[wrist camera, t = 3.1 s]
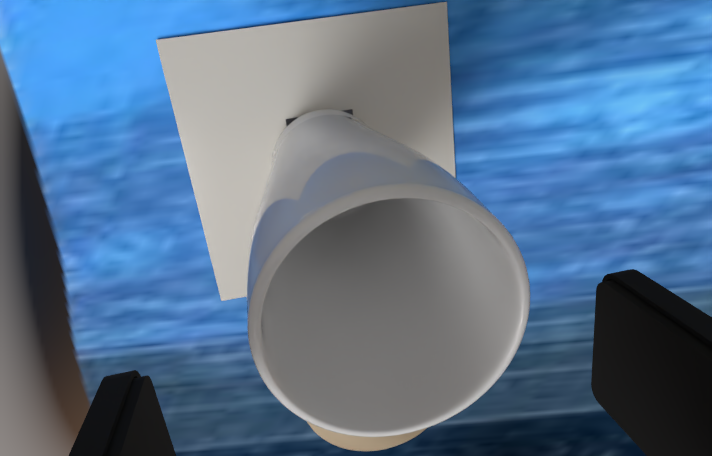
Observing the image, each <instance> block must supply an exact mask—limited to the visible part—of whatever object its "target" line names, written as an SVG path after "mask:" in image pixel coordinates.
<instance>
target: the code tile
mask: <svg viewBox="0 0 712 456" xmlns="http://www.w3.org/2000/svg"><path fill="white" fill-rule="evenodd" d="M156 43H157V47H158V51H159V55H160V59H161V63H162V67H163V71H164V75H165V79H166V83H167V87H168V91H169V95H170V99H171V103H172V107H173V111H174V115H175V118H176V122H177V126H178V130H179V134H180V138H181V142H182V146H183V150H184V154H185V158H186V162H187V166H188V170H189V174H190V178H191V182H192V186H193V190H194V194H195V198H196V202H197V206H198V210H199V214H200V218H201V222H202V226H203V229H204V233H205V237H206V241H207V245H208V249H209V253H210V257H211V261H212V265H213V269H214V273H215V277H216V281H217V285H218V289H219V293H220V297H221V301H224V300H229V299H235V298H240V297H246V296H247V267H248V255H249V248H250V241H251V234H252V230H253V226H254V222H255V218H256V214H257V211H258V207H259V204H260V201H261V198H262V195H263V192H264V189H265V185H266V182H267V179H268V176H269V172H270V169H271V159H272V153H273V149H274V147H275V144H276V142H277V140H278V138H279V136H280V135H281V133H282V132H283V130H284V129H285V128H286V127H287V126H288V125H289V124H290V123H291V122H292V121H294V120H295V119H297V118H298V117H300V116H302V115H304V114H306V113H309V112H312V111H316V110H322V109H334V110H340V111H344V112H347V113H349V114H352V115H354V116H356V117H357V118H359V119H360V120H362V121H363V122H364V123H365V124H367V125H368V126H369V127H371V128H373V129H375V130H376V131H378V132H380V133H382V134H384V135H386V136H389V137H391V138H393V139H395V140H397V141H399V142H401V143H403V144H405V145H407V146H408V147H410V148H412V149H414V150H416V151H418V152H420V153H421V154H423V155H425V156H426V157H428V158H429V159H431V160H432V161H434V162H435V163H437V164H438V165H440V166H441V167H442V168H444V169H445V170H446V171H447V172H449V173H450V174H451V175H452V176H453V177H455V157H454V136H453V116H452V96H451V76H450V55H449V35H448V15H447V2H441V3H433V4H425V5H418V6H410V7H403V8H395V9H387V10H380V11H372V12H365V13H357V14H349V15H342V16H334V17H327V18H319V19H311V20H304V21H296V22H289V23H281V24H273V25H266V26H258V27H251V28H243V29H235V30H228V31H220V32H213V33H205V34H197V35H190V36H182V37H175V38H167V39H159V40H156ZM455 178H456V177H455Z"/></svg>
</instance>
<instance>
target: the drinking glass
mask: <svg viewBox="0 0 712 456" xmlns="http://www.w3.org/2000/svg"><path fill="white" fill-rule="evenodd" d="M529 308H530V286H529V278H528V273H527V269H526V265H525V262H524V259H523V256H522V254H521V252H520V250H519V247H518V246H517V244H516V242H515V240H514V239H513V237H512V235H511V234H510V233H509V232H508V230H507V229H506V228H505V226H504V225H503V224H502V223H501V222H500V221H499V220H498V219H497V218H496V217H495V216H494V215H493V214H492V213H491V212H490V211H489V210H488V209H487V208H486V207H485V206H484V205H483V204H482V203H481V202H480V200H479V199H478V198H477V197H476V196H475V195H474V194H473V193H472V192H471V191H469V190H468V189H467V188H466V187H465V186H464V185H463V184H462V183H461V182H459V181H458V180H457V179H456V178H455V177H453V176H452V175H451V174H450V173H449V172H447V171H446V170H445V169H444V168H442V167H441V166H440V165H438V164H437V163H435V162H434V161H432V160H431V159H429V158H428V157H426V156H425V155H423V154H421V153H420V152H418V151H416V150H414V149H412V148H410V147H408V146H407V145H405V144H403V143H401V142H399V141H397V140H395V139H393V138H391V137H389V136H386V135H384V134H382V133H380V132H378V131H376V130H375V129H373V128H371V127H369V126H368V125H367V124H365V123H364V122H363V121H362V120H360V119H359V118H357V117H356V116H354V115H352V114H349V113H347V112H344V111H340V110H334V109H322V110H316V111H312V112H309V113H306V114H304V115H302V116H300V117H298V118H297V119H295V120H294V121H292V122H291V123H290V124H289V125H288V126H287V127H286V128H285V129H284V130H283V132H282V133H281V135H280V136H279V138H278V140H277V142H276V144H275V147H274V149H273V153H272V159H271V169H270V172H269V176H268V179H267V182H266V185H265V189H264V192H263V195H262V198H261V201H260V204H259V207H258V211H257V214H256V218H255V222H254V226H253V230H252V234H251V241H250V248H249V255H248V267H247V315H248V338H249V344H250V349H251V353H252V356H253V359H254V362H255V365H256V367H257V369H258V372H259V374H260V376H261V377H262V379H263V381H264V382H265V384H266V386H267V387H268V388H269V390H270V391H271V392H272V393H273V395H274V396H275V397H276V398H277V399H278V400H279V401H280V402H281V403H282V404H283V405H284V406H285V407H287V408H288V409H289V410H290V411H292V412H293V413H294V414H296V415H297V416H299V417H300V418H302V419H304V420H306V421H308V422H309V423H311V424H313V425H316V426H318V427H321V428H323V429H326V430H329V431H332V432H336V433H340V434H345V435H351V436H359V437H387V436H395V435H401V434H406V433H411V432H415V431H418V430H422V429H425V428H427V427H430V426H433V425H435V424H438V423H440V422H442V421H444V420H446V419H448V418H450V417H452V416H454V415H456V414H457V413H459V412H461V411H462V410H464V409H465V408H467V407H468V406H470V405H471V404H472V403H474V402H475V401H476V400H477V399H479V398H480V397H481V396H482V395H483V394H484V393H485V392H487V391H488V389H489V388H490V387H491V386H492V385H493V384H494V383H495V382H496V381H497V380H498V379H499V377H500V376H501V375H502V374H503V372H504V371H505V369H506V368H507V367H508V365H509V364H510V362H511V360H512V359H513V357H514V355H515V353H516V351H517V349H518V347H519V345H520V343H521V340H522V337H523V335H524V332H525V328H526V324H527V320H528V315H529Z"/></svg>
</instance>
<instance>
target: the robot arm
mask: <svg viewBox="0 0 712 456" xmlns="http://www.w3.org/2000/svg"><path fill="white" fill-rule="evenodd" d="M591 385H592V391H593V394H594V396H595V398H596V400H597V401H598V403H599V404H600V405H601V406H602V407H603V408H604V409H605V410H606V411H607V413H608V414H609V415H610V416H611V417H612V418H613V419H614V420H615V421H616V422H617V423H618V425H619V426H620V427H621V428H622V429H623V430H624V431H625V432H626V433H627V434H628V435H629V437H630V438H631V439H632V440H633V441H634V442H635V443H636V444H637V445H638V446H639V447H640V448H641V450H642V451H643V452H644V453H645V454H646V455H647V456H712V317H710V316H709V315H707V314H705V313H704V312H702V311H701V310H699V309H698V308H696V307H694V306H693V305H691V304H690V303H688V302H686V301H685V300H683V299H682V298H680V297H678V296H677V295H675V294H674V293H672V292H671V291H669V290H667V289H666V288H664V287H663V286H661V285H659V284H658V283H656V282H655V281H653V280H651V279H650V278H648V277H647V276H645V275H644V274H642V273H640V272H639V271H637V270H634V269H632V270H626V271H621V272H616V273H611V274H607V275H606V276H604V278H603V280H602V282H601V283H599V284H598V286H597V290H596V307H595V325H594V344H593V363H592V382H591ZM69 456H176V454H175V451H174V448H173V445H172V442H171V439H170V436H169V433H168V430H167V426H166V423H165V420H164V417H163V414H162V411H161V408H160V405H159V402H158V399H157V396H156V393H155V390H154V387H153V384H152V381H151V379H150V377H149V376H143V377H141V376H140V374H139V373H138V371H136V370H134V371H130V372H125V373H120V374H115V375H110V376H106V377H104V378H103V380H102V382H101V384H100V386H99V388H98V391H97V393H96V395H95V397H94V400H93V402H92V404H91V406H90V409H89V411H88V413H87V416H86V418H85V420H84V423H83V425H82V427H81V429H80V431H79V434H78V436H77V438H76V441H75V443H74V445H73V447H72V450H71V452H70V454H69Z"/></svg>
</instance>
